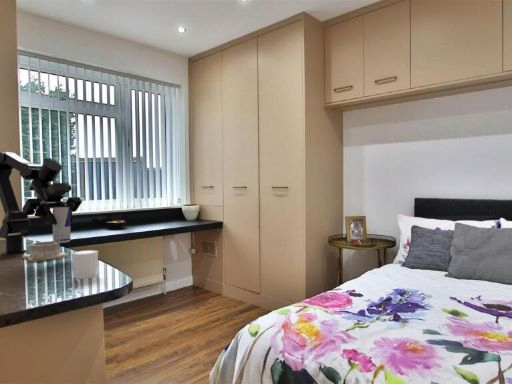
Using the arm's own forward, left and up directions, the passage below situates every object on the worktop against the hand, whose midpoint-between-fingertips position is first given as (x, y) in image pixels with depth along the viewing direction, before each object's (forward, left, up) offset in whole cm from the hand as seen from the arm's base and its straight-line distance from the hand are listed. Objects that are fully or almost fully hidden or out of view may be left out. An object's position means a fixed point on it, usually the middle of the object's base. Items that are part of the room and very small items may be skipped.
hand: (64, 223), depth 123 cm
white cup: (+28, -5, -13) cm, 31 cm away
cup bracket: (-11, -2, -13) cm, 17 cm away
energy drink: (-1, 0, -7) cm, 7 cm away
